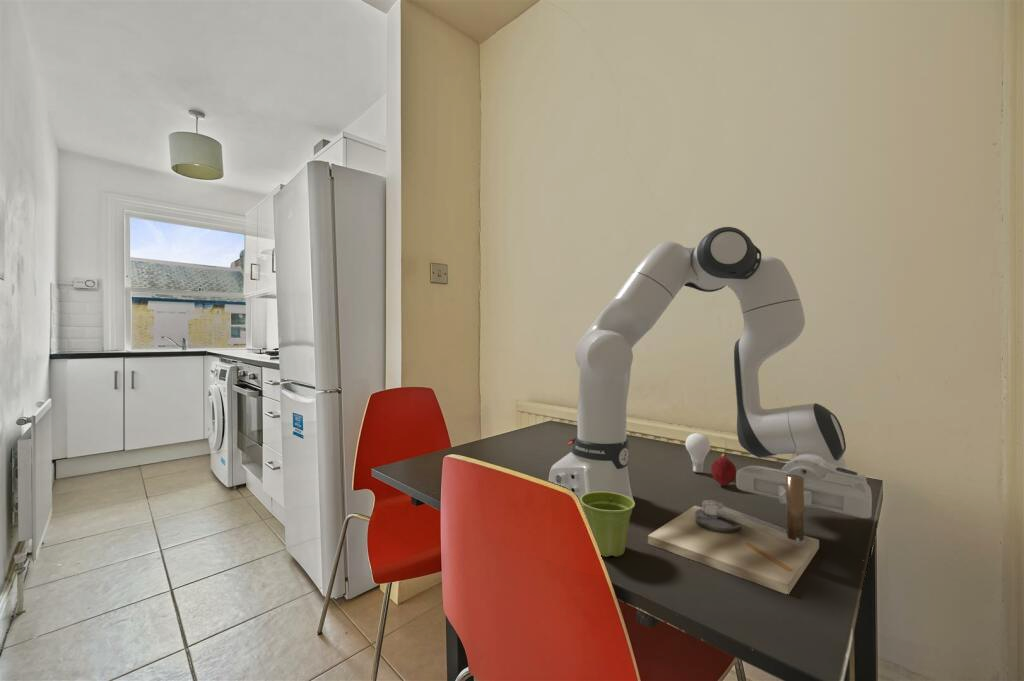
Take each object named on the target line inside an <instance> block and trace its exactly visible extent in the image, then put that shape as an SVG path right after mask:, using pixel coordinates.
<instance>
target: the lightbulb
mask: <svg viewBox="0 0 1024 681" xmlns="http://www.w3.org/2000/svg"><path fill="white" fill-rule="evenodd" d="M684 443H685V449H686V450H687V452H688V454H689V455H690V459H691V461H692V471H693V472H694V473H696V474H701V473H703V472H704V462H705V458H706V456H707V455H708V454H709V452H710V450H711V442H710V440H709V438H708V436H706V435H705V434H702V433H699V432H694V433H690V434H689V435H688V436H687V438H686V439H685V442H684Z"/></svg>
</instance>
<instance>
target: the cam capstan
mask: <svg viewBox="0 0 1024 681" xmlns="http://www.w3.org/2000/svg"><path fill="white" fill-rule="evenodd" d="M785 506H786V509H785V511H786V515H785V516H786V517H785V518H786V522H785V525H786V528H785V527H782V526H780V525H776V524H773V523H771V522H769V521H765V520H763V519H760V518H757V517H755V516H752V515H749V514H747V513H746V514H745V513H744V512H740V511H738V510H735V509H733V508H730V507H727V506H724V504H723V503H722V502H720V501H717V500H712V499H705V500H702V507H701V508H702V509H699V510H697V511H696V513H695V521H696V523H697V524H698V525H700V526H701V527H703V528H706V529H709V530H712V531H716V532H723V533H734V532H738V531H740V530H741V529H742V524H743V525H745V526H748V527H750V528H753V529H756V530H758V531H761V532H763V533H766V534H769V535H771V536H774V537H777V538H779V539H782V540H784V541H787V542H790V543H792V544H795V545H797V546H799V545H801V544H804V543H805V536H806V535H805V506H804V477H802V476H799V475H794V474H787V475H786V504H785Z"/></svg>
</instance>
